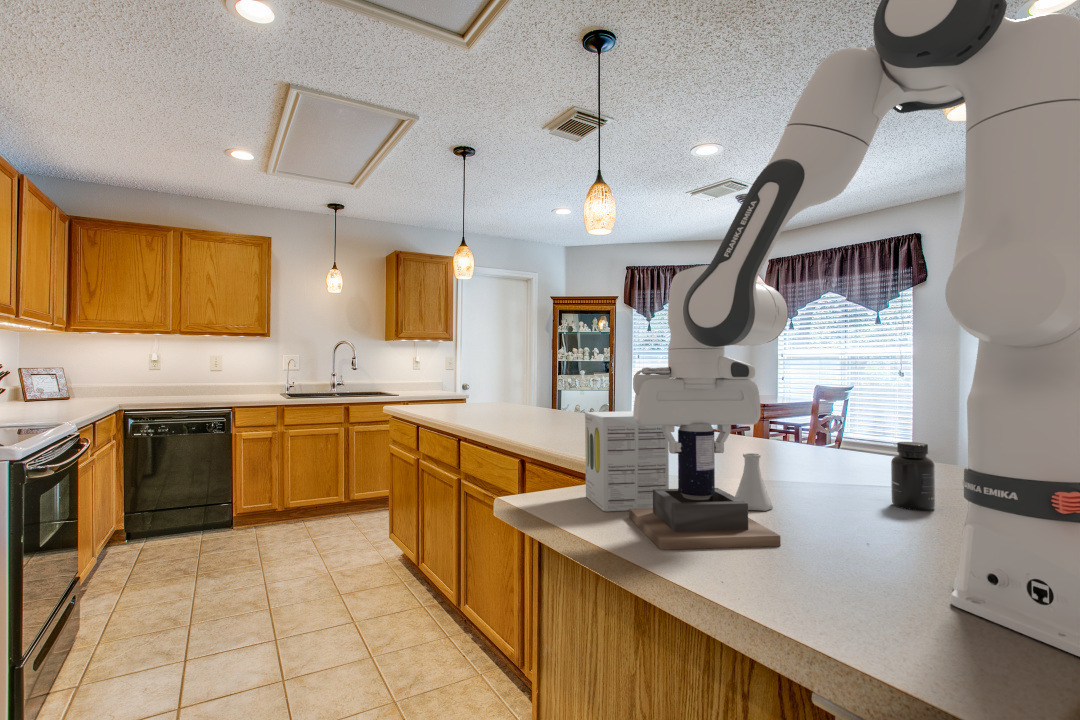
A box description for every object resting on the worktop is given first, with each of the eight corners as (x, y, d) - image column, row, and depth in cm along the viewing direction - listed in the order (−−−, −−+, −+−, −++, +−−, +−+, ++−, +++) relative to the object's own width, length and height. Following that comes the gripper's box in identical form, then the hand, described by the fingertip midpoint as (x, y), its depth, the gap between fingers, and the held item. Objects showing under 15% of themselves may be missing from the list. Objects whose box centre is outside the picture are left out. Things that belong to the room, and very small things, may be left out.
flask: (729, 509, 102) (728, 455, 103) (735, 501, 109) (734, 450, 109) (771, 513, 99) (770, 458, 99) (775, 505, 105) (774, 452, 106)
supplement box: (584, 496, 113) (583, 411, 114) (644, 493, 116) (644, 410, 116) (602, 512, 100) (602, 416, 101) (670, 509, 103) (670, 415, 103)
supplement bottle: (883, 504, 105) (882, 442, 105) (905, 501, 108) (904, 440, 108) (921, 513, 99) (919, 446, 99) (943, 509, 102) (942, 444, 102)
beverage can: (710, 493, 91) (710, 421, 92) (718, 501, 86) (717, 424, 86) (675, 492, 92) (675, 421, 92) (681, 500, 86) (680, 424, 87)
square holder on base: (780, 545, 80) (780, 508, 81) (660, 549, 79) (660, 511, 79) (727, 514, 98) (727, 483, 98) (629, 517, 97) (628, 485, 97)
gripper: (638, 367, 85) (638, 456, 85) (765, 367, 87) (765, 455, 87) (628, 367, 91) (628, 450, 91) (746, 367, 93) (747, 449, 93)
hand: (696, 452), depth 89 cm, fingers closed on beverage can, 6 cm apart
